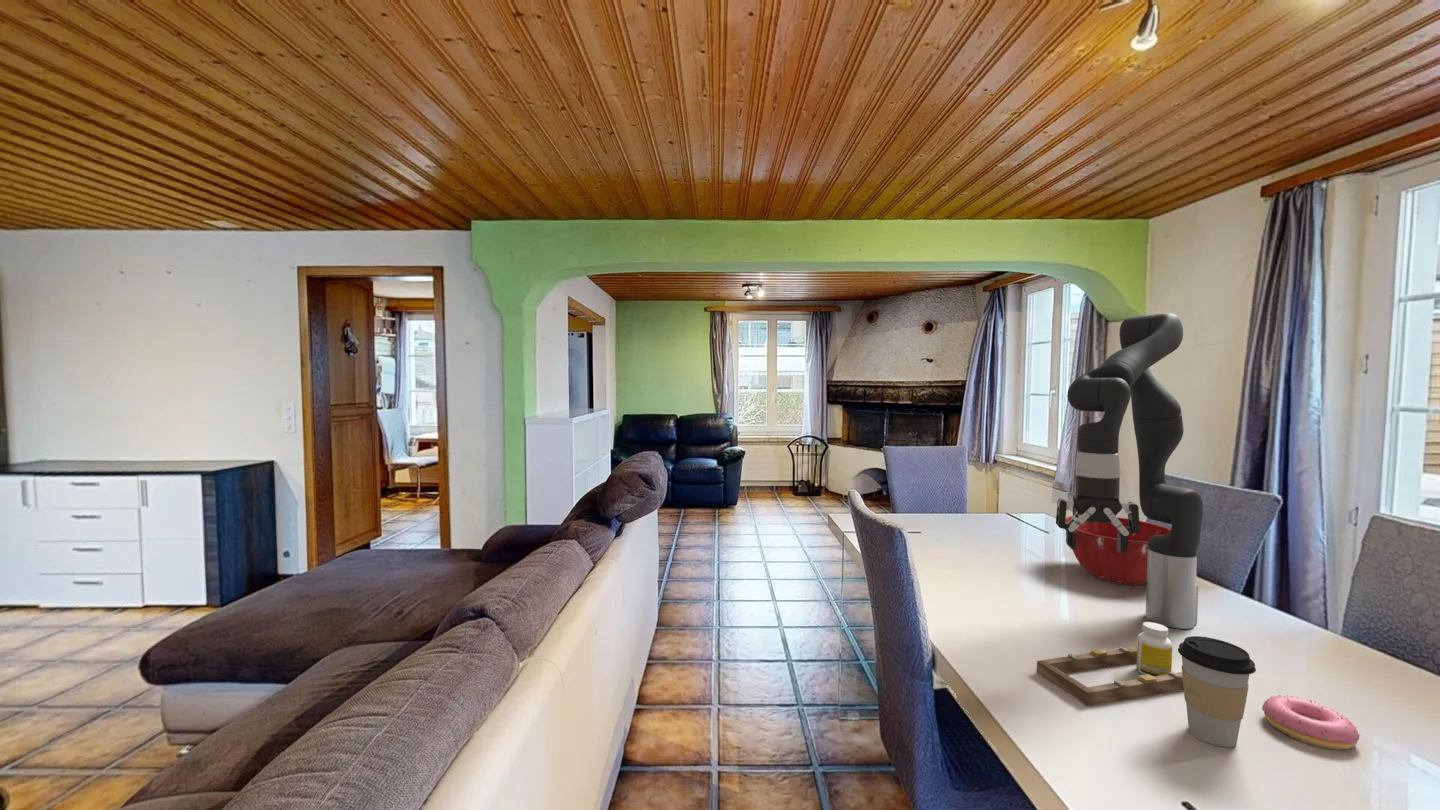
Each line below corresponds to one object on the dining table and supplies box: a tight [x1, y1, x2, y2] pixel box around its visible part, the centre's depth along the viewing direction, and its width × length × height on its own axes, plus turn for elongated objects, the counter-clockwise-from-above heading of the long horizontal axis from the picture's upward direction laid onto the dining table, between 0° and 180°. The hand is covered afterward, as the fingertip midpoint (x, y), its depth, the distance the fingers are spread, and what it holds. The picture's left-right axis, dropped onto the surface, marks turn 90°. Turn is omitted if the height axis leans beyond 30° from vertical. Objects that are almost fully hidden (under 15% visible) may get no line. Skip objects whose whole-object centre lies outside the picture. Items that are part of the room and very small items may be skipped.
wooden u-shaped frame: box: [1036, 646, 1184, 707], centre depth 106 cm, size 28×12×3 cm, turn 103°
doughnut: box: [1261, 694, 1361, 751], centre depth 90 cm, size 11×11×4 cm
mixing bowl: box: [1065, 515, 1171, 586], centre depth 161 cm, size 28×28×16 cm
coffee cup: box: [1177, 635, 1257, 748], centre depth 89 cm, size 9×9×15 cm
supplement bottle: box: [1136, 621, 1173, 677], centre depth 108 cm, size 5×5×10 cm
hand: (1096, 550), depth 113 cm, fingers open, 8 cm apart
